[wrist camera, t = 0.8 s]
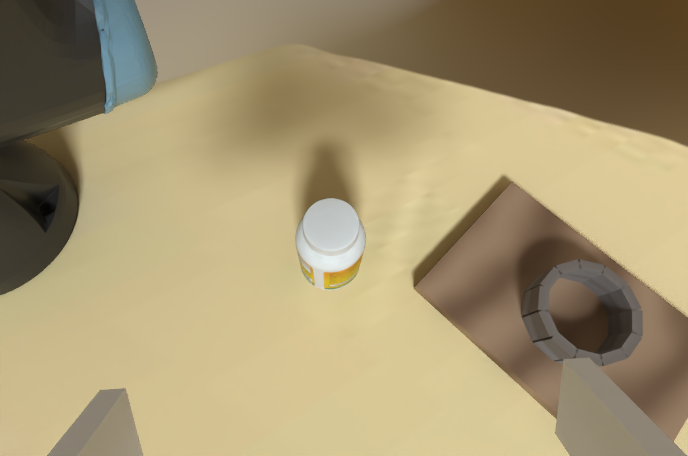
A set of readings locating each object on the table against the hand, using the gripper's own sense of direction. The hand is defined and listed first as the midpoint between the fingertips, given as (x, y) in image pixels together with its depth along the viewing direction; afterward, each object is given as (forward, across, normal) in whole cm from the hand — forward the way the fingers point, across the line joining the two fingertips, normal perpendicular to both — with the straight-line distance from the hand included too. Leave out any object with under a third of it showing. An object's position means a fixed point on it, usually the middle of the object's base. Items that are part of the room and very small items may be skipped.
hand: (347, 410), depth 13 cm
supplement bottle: (+25, -1, -5) cm, 25 cm away
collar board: (+21, +19, -10) cm, 30 cm away
